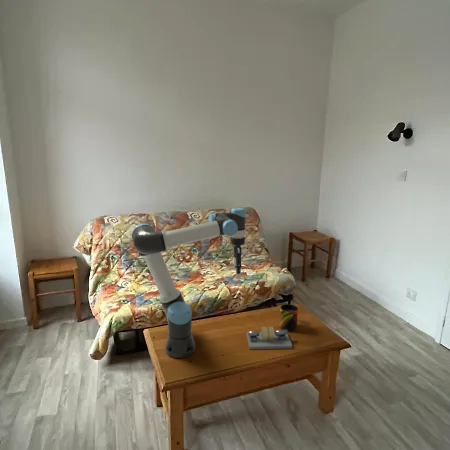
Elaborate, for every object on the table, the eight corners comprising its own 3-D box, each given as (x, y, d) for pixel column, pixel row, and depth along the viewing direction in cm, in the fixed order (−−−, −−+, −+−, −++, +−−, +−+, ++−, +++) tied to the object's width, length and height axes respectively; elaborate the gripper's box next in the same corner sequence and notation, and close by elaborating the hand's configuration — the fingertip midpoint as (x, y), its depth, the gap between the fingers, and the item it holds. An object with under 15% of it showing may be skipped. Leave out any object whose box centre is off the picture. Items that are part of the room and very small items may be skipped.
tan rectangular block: (272, 336, 183) (272, 326, 182) (273, 341, 179) (274, 330, 178) (261, 336, 183) (261, 326, 182) (262, 341, 179) (262, 330, 178)
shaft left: (248, 341, 178) (248, 333, 177) (247, 337, 183) (247, 329, 182) (259, 341, 179) (259, 333, 178) (257, 336, 183) (258, 329, 182)
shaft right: (276, 341, 179) (277, 333, 178) (273, 336, 183) (274, 328, 182) (288, 339, 181) (289, 331, 180) (285, 334, 185) (285, 327, 184)
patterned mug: (288, 318, 205) (289, 300, 202) (299, 330, 192) (301, 311, 189) (273, 320, 203) (274, 301, 200) (283, 333, 190) (285, 313, 187)
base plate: (249, 349, 175) (249, 346, 174) (246, 335, 187) (246, 332, 187) (292, 348, 176) (292, 345, 176) (286, 334, 188) (286, 331, 188)
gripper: (247, 243, 172) (246, 282, 177) (242, 230, 196) (241, 265, 201) (232, 243, 172) (231, 283, 177) (229, 230, 196) (229, 265, 201)
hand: (237, 273), depth 189 cm, fingers open, 13 cm apart
